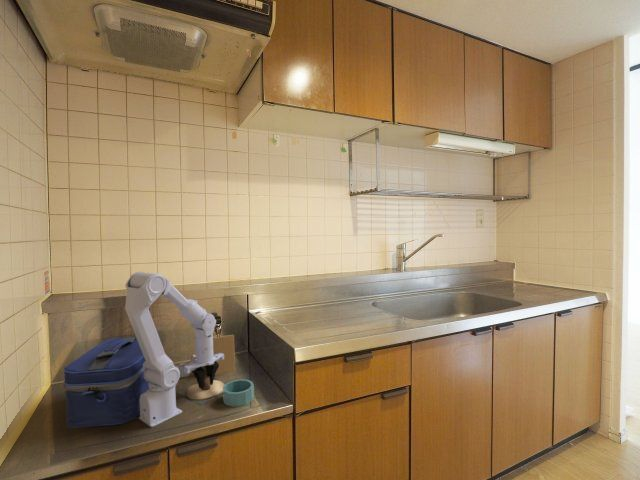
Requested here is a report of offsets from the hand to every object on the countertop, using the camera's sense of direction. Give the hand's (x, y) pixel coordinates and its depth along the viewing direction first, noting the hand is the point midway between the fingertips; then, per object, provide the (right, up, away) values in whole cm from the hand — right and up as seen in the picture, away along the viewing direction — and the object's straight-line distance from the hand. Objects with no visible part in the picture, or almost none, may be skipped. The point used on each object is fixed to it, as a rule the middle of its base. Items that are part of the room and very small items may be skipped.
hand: (205, 386), depth 116 cm
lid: (0, -2, 0) cm, 2 cm away
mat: (0, -2, 0) cm, 2 cm away
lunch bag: (-26, -3, -6) cm, 27 cm away
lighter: (-11, -2, +12) cm, 17 cm away
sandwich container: (-1, -1, +21) cm, 21 cm away
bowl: (+13, -2, -6) cm, 14 cm away
